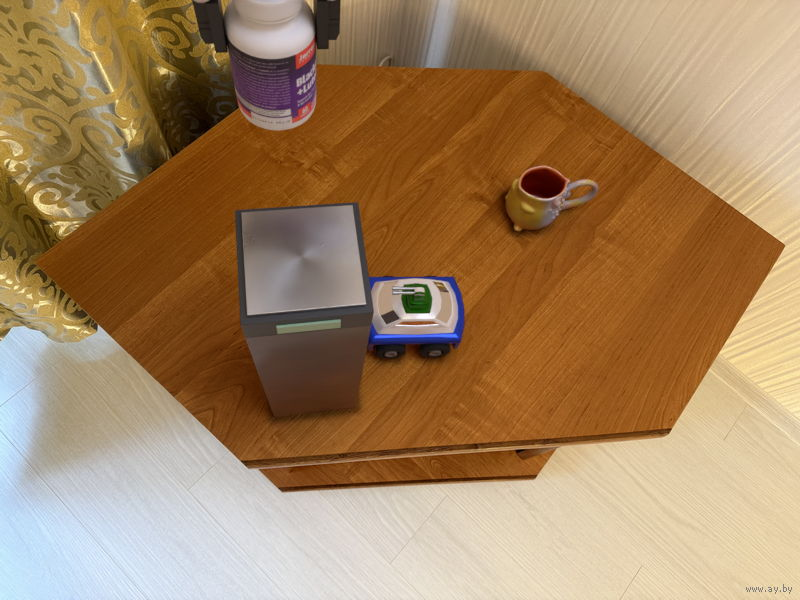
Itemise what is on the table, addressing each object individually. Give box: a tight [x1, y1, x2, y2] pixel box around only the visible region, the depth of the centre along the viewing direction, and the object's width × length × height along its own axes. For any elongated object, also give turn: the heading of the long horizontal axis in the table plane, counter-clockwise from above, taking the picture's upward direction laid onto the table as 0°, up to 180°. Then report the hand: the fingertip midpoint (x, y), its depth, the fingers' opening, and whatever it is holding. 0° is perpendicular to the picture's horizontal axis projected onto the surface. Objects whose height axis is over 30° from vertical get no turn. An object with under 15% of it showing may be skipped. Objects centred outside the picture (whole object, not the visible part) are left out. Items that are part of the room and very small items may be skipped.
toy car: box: [367, 275, 466, 359], centre depth 67 cm, size 9×12×10 cm
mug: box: [504, 165, 600, 232], centre depth 77 cm, size 12×7×7 cm, turn 97°
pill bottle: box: [223, 0, 317, 131], centre depth 37 cm, size 5×5×10 cm
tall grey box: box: [234, 201, 374, 418], centre depth 55 cm, size 9×9×28 cm
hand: (271, 40), depth 36 cm, fingers closed on pill bottle, 5 cm apart
